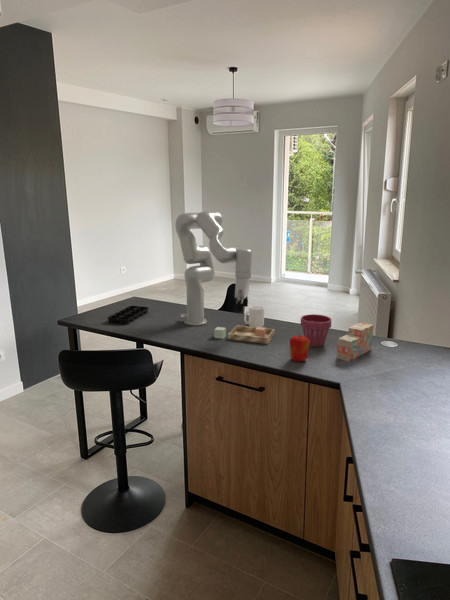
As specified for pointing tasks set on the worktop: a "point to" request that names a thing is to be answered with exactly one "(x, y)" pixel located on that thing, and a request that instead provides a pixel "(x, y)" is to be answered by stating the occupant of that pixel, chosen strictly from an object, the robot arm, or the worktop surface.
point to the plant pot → (316, 328)
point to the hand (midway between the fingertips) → (242, 308)
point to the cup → (255, 316)
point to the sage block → (219, 332)
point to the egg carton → (127, 315)
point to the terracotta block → (260, 331)
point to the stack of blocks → (355, 342)
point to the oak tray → (250, 335)
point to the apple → (299, 347)
